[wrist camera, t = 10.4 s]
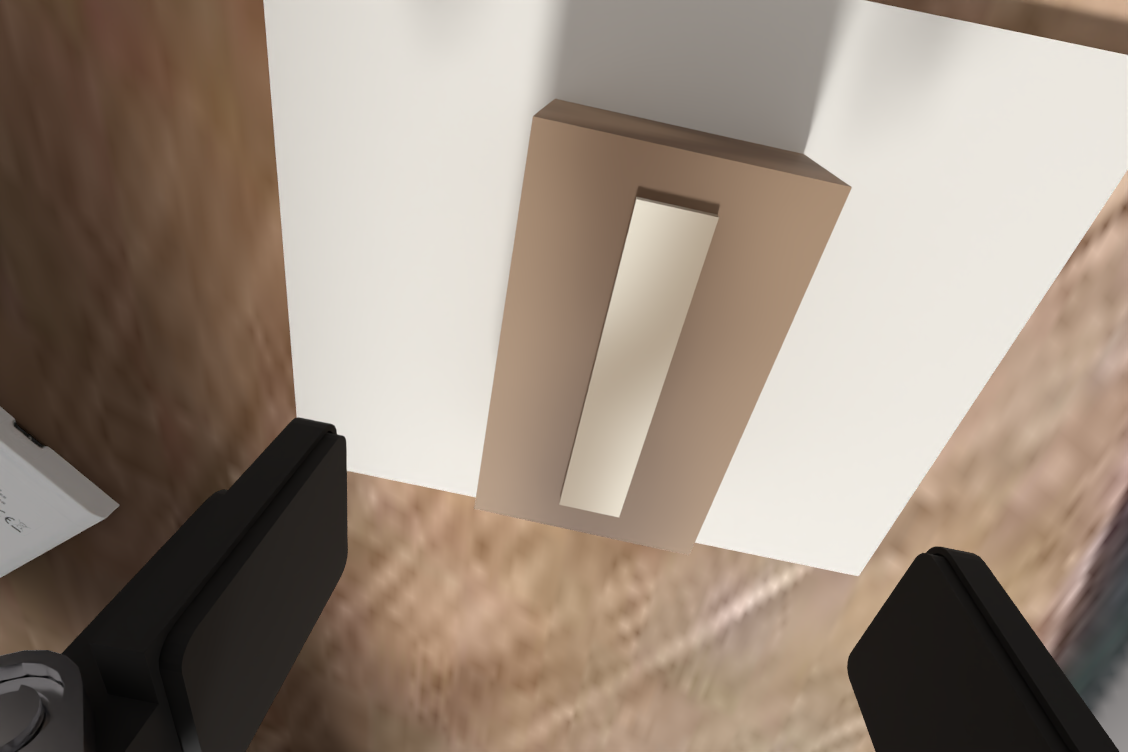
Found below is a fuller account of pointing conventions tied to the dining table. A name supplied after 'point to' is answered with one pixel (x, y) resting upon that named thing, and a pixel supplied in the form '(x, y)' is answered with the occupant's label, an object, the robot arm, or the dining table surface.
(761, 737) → the dining table surface
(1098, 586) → the dining table surface
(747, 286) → the slotted tan block
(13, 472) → the external hard drive
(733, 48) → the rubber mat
